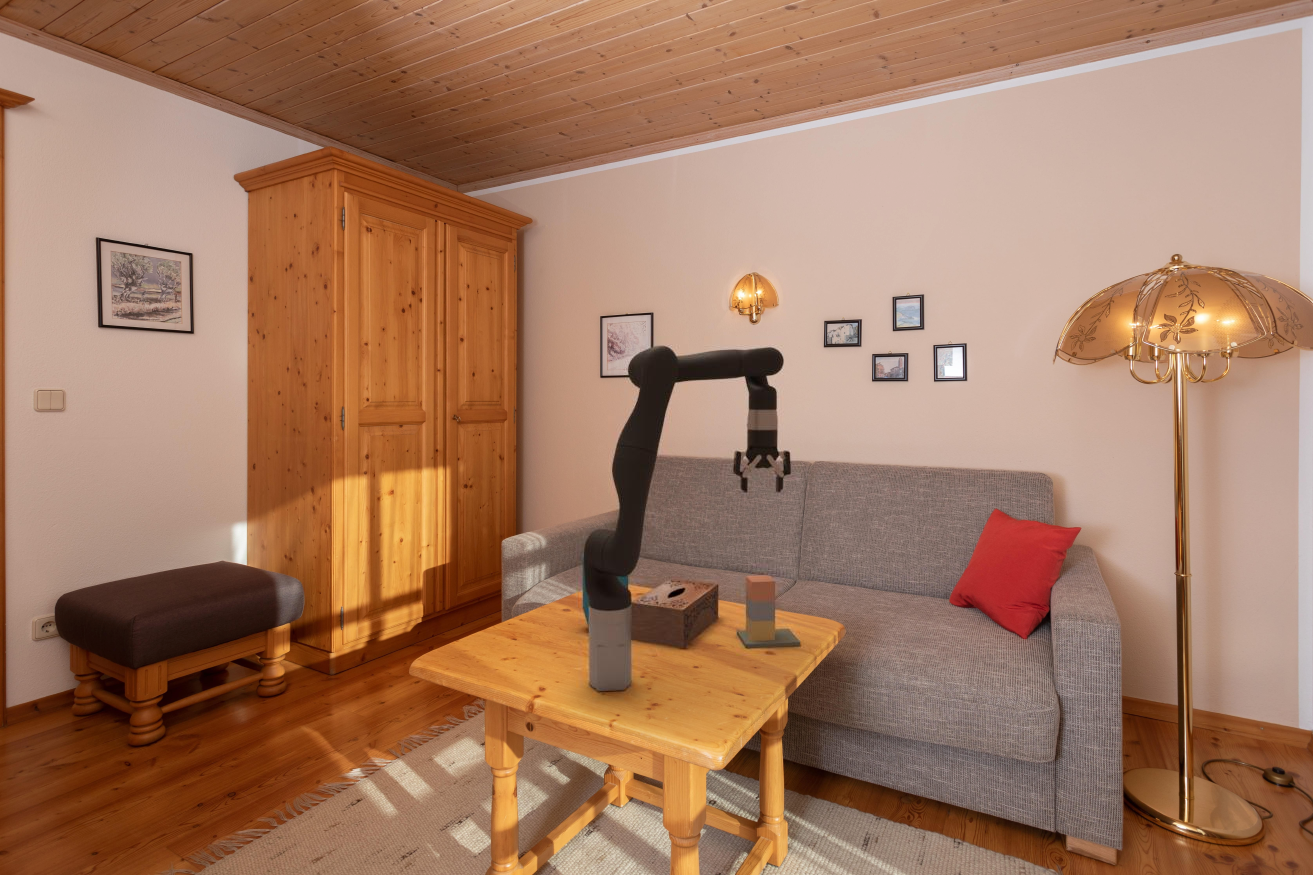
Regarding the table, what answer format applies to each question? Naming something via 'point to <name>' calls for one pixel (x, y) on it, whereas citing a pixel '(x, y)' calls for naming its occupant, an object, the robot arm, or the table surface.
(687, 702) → the table surface
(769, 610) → the slate block
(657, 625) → the tissue box cover
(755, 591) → the terracotta block
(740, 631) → the felt mat
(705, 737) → the table surface
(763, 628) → the ochre block
